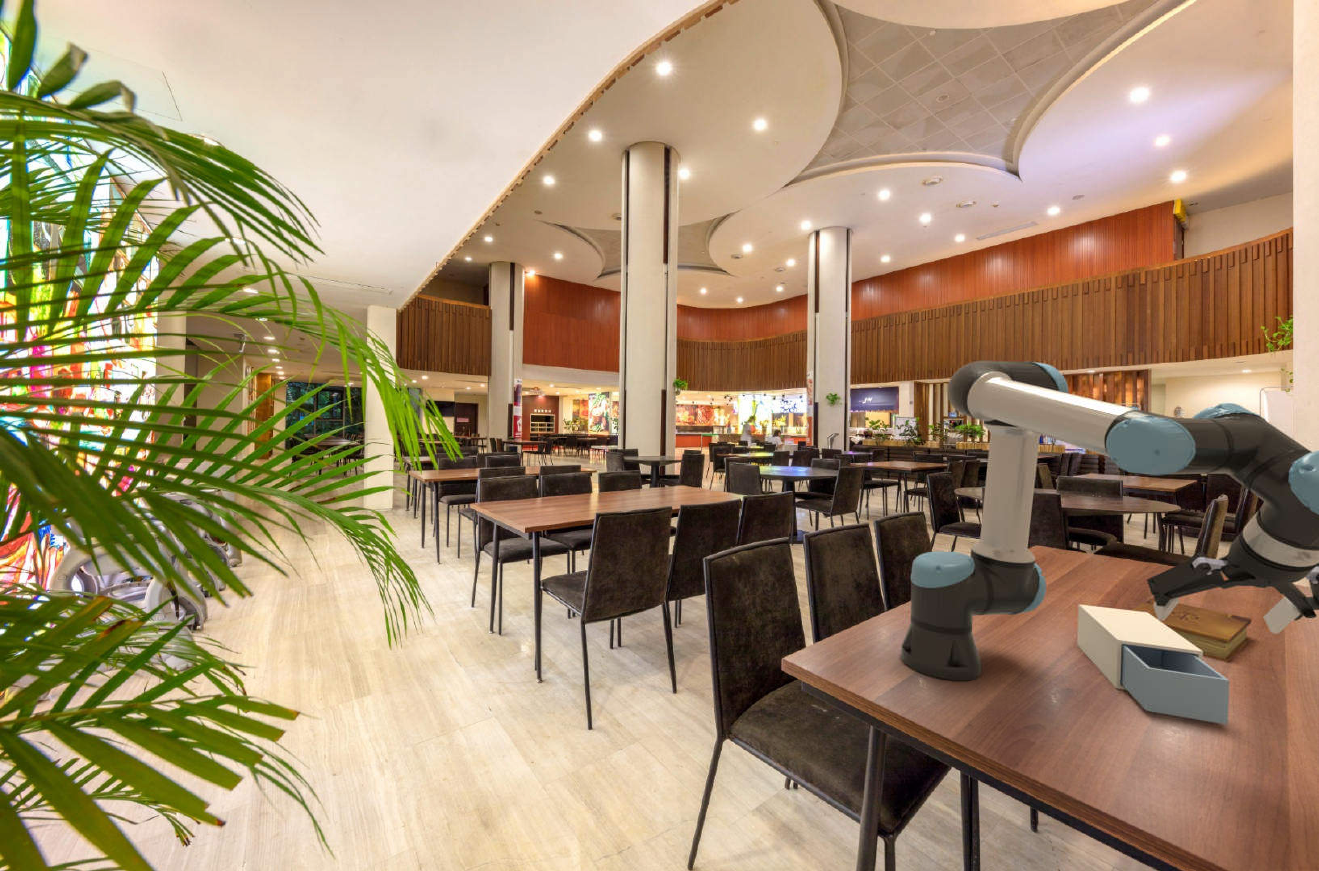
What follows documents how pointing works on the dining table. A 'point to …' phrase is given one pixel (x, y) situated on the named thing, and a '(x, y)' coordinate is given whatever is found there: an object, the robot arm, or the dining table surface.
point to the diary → (1205, 629)
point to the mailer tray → (1174, 683)
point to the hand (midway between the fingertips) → (1212, 618)
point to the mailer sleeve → (1123, 637)
